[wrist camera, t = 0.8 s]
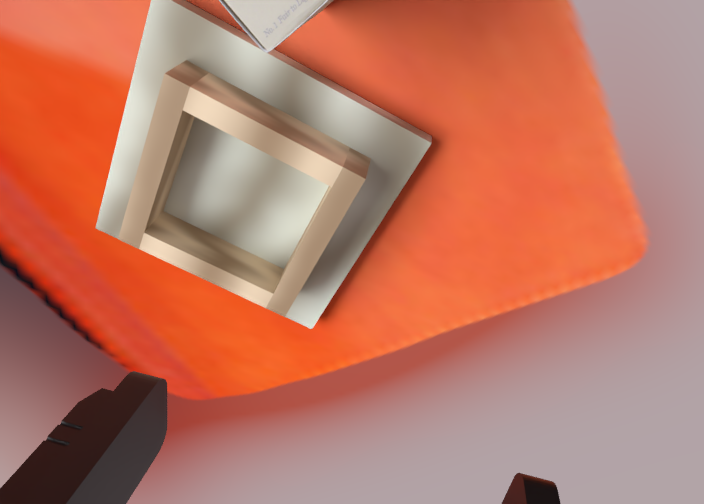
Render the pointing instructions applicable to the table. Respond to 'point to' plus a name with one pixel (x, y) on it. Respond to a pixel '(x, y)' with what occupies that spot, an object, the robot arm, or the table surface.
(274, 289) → the square collar plate
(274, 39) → the skincare box
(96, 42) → the table surface
